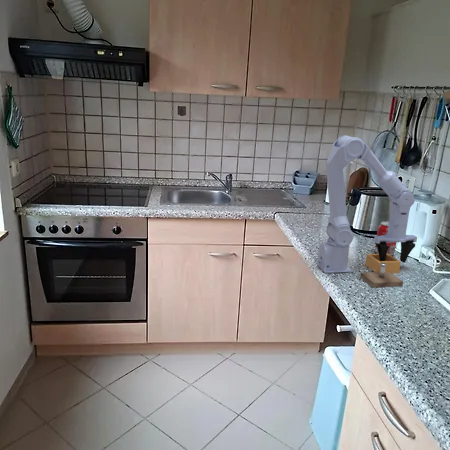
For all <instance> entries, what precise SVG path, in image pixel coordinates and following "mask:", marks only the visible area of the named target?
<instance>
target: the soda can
mask: <svg viewBox="0 0 450 450" xmlns="http://www.w3.org/2000/svg"><path fill="white" fill-rule="evenodd" d="M388 226H389V221H387V220H386V221H381V222H380V224H379V225H378V227H377V232H376V236H382V235H387V233H388ZM386 244H387V245H388V246H389V249H388V251H387V254H389V255H391V256H393V255H395V251H396V247H397V242H387V243H386ZM374 248H375V249H374V250H375V253H376V254H379V253H378V249H377V246H376V245H375V247H374Z"/></svg>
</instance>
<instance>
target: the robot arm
mask: <svg viewBox="0 0 450 450" xmlns="http://www.w3.org/2000/svg"><path fill="white" fill-rule="evenodd" d="M331 147H332V148H331V150H330V152H329V155H328V158H327V160H326V163H325V171H326V180H327V182H326V183H327V194H328V204H329V207H328V208H329V217H328V218H327V219H328V220H327V222H328V223H327V226H326V229H325V232H326V235H327V237H328V238H327V239H326V240H327V241H326V242H324V243H320V244H319V246H318V253H317V262H316V266H317V267H318V268H319V269H320V270H321V271H322V272H324V273H325V274H329V273H331V274H333V273H351V272H352V269H350V268H349V267H348V262H349V261H348V260H349V251H350V245H351V243H352V242H353V241H354V233H353V231H352V230H351V225H350V222H349V218H348V217H347V206H346V205H347V204H346V192H345V177H344V169H345V167H347V165H349V163H351V162H352V161H355V160H356V159H358V160H361V161H363V163H364V164H365V165H366V166H367V167H368V168H369V169H370V170H371V172H372V173H373V174H374V175H376V177H377V180H376V181H377V184H378V186H379V187H380V188H381V189H382V190H383V191H384V193H386V195H387V196H388V199H389V202H391V205H390V210H389V211H390V212H389V218H388V219H389V220H388V222H389V226H388V233H387V235H382V236H377V235H376V236H374V240H373V242H374V243H375V246H377V249H378V253H379V259H380V261H385V260H386V254H387V251H388V249H389V246H388V245H387V244H386V243H387V242H396V243H400V254H399V255H400V256H399V261H400V262H401V263H403V264H404V263H406V262H407V260H408V258H409V255H410V253H411V252H412V251H413V249H415V247H416V243H417V242H418V241H417V240H418V236H417V235H414V234H407V229H408V222H409V214H410V211H411V207H412V206H413V205H414V204H415V201H416V199H415V196H414V193H413V192H412V191H410V190H409V189H407V185H406V183H403V182H402V181H401V179H399V178H398V177H399V174H398V173H397V172H394V171H392V170H387V169H386V168H385V167H384V166H383V164H382V163H381V161H380V160H379V159H378V158H377V156H376V155H375V154H374V152H373V151H372V150H371V148H370V147H369V145H367V144H366V143H364V141H363V140H362V139H361V138H360V137H356V136H355V137H353V136H350V135H346V134H345V135H341V136H339V137H338V138H337V139H336V140H335V141H334V142H333V143H332V146H331ZM378 253H377V254H378Z"/></svg>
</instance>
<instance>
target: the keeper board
mask: <svg viewBox="0 0 450 450" xmlns="http://www.w3.org/2000/svg"><path fill="white" fill-rule="evenodd" d="M380 265H381V268H380V272H374V271H372V272H371V271H370V272H360V279H362V280H363V281H364V282H366V283H367V284H368V285H369V286H370V287H372V288H392V287H394V288H395V287H403V285H404V281H403V280H401V279H400V278H399V277H398V276H396V275H395V274H394V273H390V272H385V267H386V265H387V264H386V263H380Z"/></svg>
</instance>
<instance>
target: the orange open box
mask: <svg viewBox="0 0 450 450" xmlns="http://www.w3.org/2000/svg"><path fill="white" fill-rule="evenodd" d="M365 257H366V258H365V266H366V267H367V268H369V269H370V270H371V271H372V272H380V268H381V265H380V263H386V264H387V265H386V267H385V272H390V273H392V274H399V273H400V269H401V263H402V262H401V261H400V259H399V260H398V258H396V257H394V256H393V255H389V254H386V260H385V261H380V259H379V254H378V253H367V254H366V256H365Z"/></svg>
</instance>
